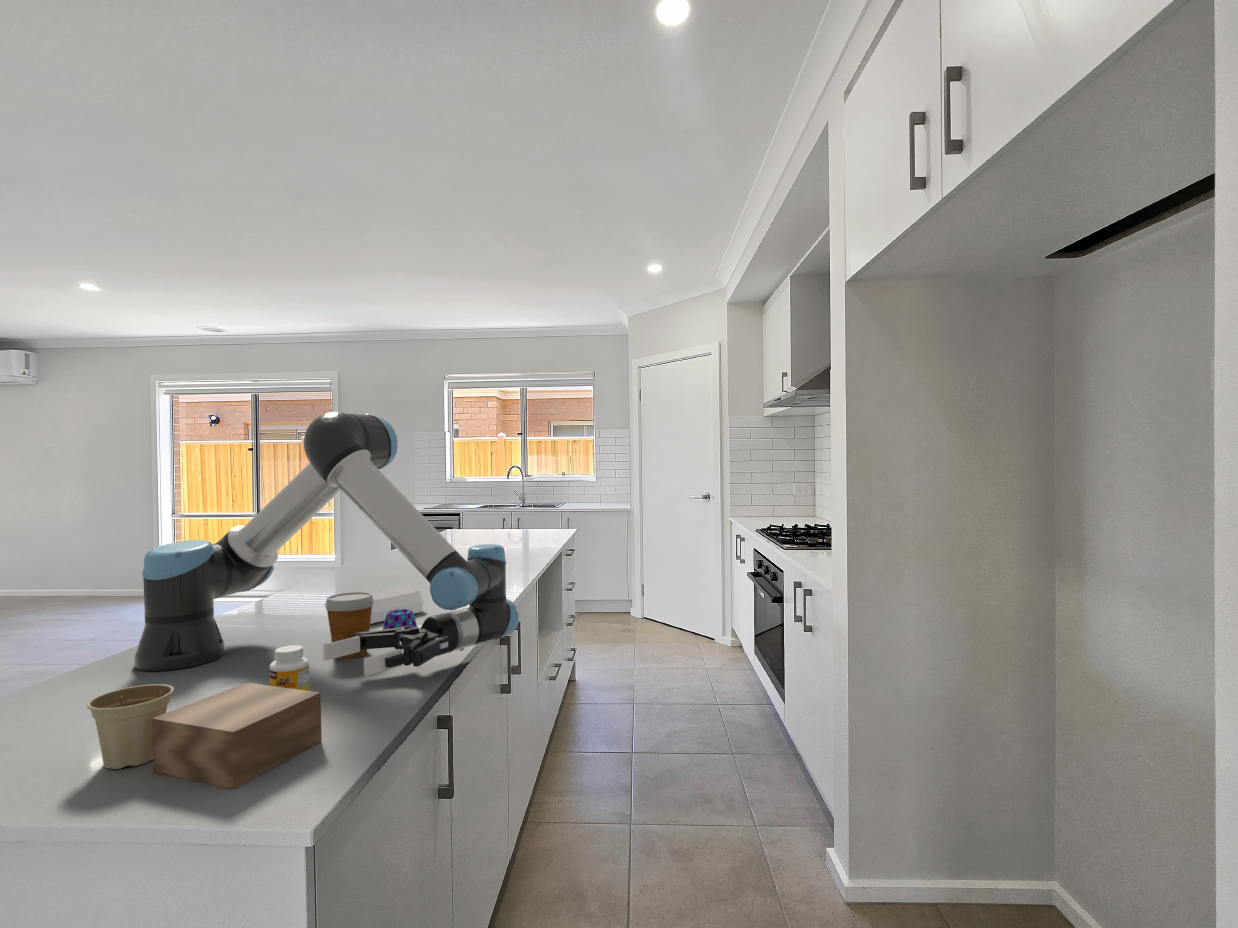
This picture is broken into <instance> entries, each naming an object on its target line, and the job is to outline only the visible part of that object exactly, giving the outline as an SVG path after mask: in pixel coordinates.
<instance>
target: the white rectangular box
mask: <svg viewBox="0 0 1238 928" xmlns="http://www.w3.org/2000/svg"><path fill="white" fill-rule="evenodd" d="M370 593H371V592H370ZM371 594H372V597H373V599H374V602H373V605H372V611H371V620H370V625H373V624H376V623H377V624H378V623H381V622H384V621H385V617H386V614H387V613H388V612H389V611H393V610H397V609H409V610H412V612H413V613H414V615H415V614H416V615H417V614H420V613H422V612H423V609H424V608H423V606H424V598H423V596H422V594H421V591H420V589H418V588H417V587H415V585H407V586H401V587H397V588H392V589H387V590H382V591H376V592H372V593H371Z"/></svg>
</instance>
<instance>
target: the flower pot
mask: <svg viewBox="0 0 1238 928" xmlns="http://www.w3.org/2000/svg"><path fill="white" fill-rule="evenodd" d="M173 693H175V688H174V686H172V685H170V684H165V683H163V684H160V683H158V684H156V683H155V684H154V683H153V684H141V685H136V686H128V687H123V688H119V689H115V690H112V691H108V692H106V693H103V694H100V695H97V696H96V697H94V698H92V699H90V700H89V701H87V702H86V708H87V709H88V710H90V712H91V717H92V718H93V719H94V720H95V726H96V731H97V732H96V733H97V736H98V737H97V738H98V741H99V746H100V747H99V748H100V751H101V758H102V765H103V766H104V768H107V769H112V770H122V769H123V768H125V767H128V766H132V767H137V766H141V765H143V764H145V763H148V762H150V761H153V737H152V718H154V717H157V716H160V715H162V714H165V713H167V709H168V705H169V703H170V702H171V695H172V694H173Z"/></svg>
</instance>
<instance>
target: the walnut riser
mask: <svg viewBox="0 0 1238 928" xmlns="http://www.w3.org/2000/svg"><path fill="white" fill-rule="evenodd" d="M321 699H322V695H321V692H319V691H312V690H309V691H305V690H298V689H290V688H283V687H276V686H270V685H266V684H259V683H253V682H252V683H251V682H245V683H241V684H239V685H236V686H234V687H231V688H228V689H225V690H223V691H220V692H217V693H215V694H213V695H209V696H207V697H205V698H202V699H199V700H197V701H194V702H192V703H189V704H186V705H184V706H181V707H178V708H176V709H174V710H171V711H170V710H169V711H168V712H166V713H165V714H162V715H160V716H157V717H154V718H152V737H153V760H152V769H153V770H152V771H153V773H155V774H159V775H164V776H170V777H174V778H178V779H185V780H189V781H193V782H198V783H204V784H208V785H213V786H218V787H221V788H227V789H233V790H236V789H238V788H239V787H241V786H243V785H245V784H247V783H248V782H250V781H252V780H254V779H256V778H257V777H260V776H261V775H264V774H265V773H266V772H269V771H270V770H273V769H274V768H276V767H277V766H279V765H281V764H283V763H285V762H287V761H289V760H290V759H292V758H294V757H296V756H298V755H300V754H301V753H304V752H305V751H307V750H309V749H310V748H313V747H314V746H316V745H318V744H321V743H322V740H323V739H322V700H321Z"/></svg>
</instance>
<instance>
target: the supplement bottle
mask: <svg viewBox="0 0 1238 928" xmlns="http://www.w3.org/2000/svg"><path fill="white" fill-rule="evenodd" d="M309 662H310V661H309V659H308V658H306V657H304V648H303V646H301V645H299V644H298V645H285V646H280V647H279V648H276V649H275V651H274V661H272V662H271V663H270V665H269V686H276V687H283V688H290V689H298V690H305V691H310V680H309V679H310V676H309V675H310V668H309V667H310V664H309Z"/></svg>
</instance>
